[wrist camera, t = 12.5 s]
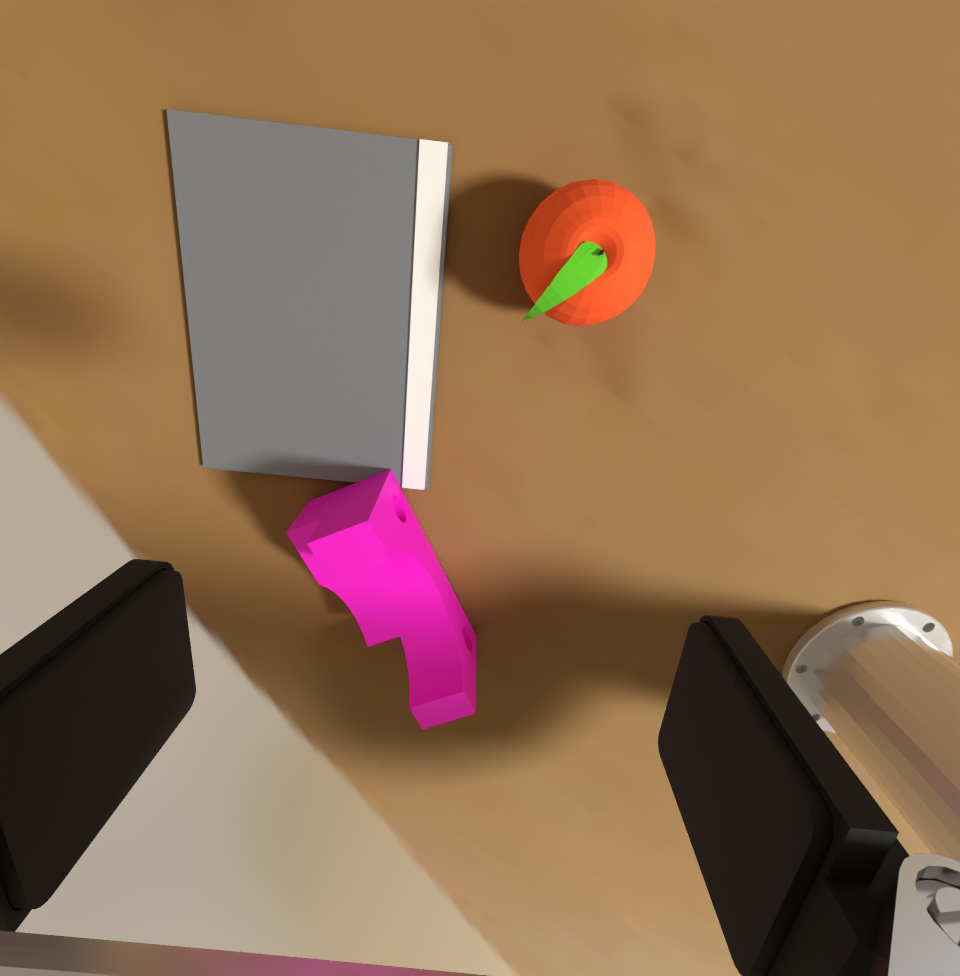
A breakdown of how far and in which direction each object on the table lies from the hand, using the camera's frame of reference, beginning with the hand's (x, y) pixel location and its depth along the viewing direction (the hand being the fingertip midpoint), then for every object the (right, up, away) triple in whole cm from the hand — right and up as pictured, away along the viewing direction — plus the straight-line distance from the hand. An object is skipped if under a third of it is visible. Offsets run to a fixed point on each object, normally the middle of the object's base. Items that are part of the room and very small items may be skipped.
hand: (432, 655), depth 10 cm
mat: (-9, +13, +22) cm, 27 cm away
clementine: (+6, +16, +21) cm, 27 cm away
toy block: (-5, -3, +28) cm, 29 cm away
